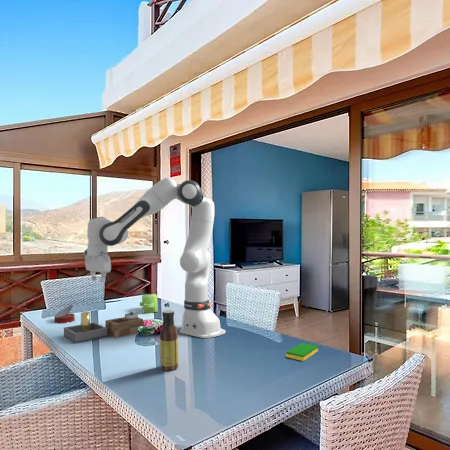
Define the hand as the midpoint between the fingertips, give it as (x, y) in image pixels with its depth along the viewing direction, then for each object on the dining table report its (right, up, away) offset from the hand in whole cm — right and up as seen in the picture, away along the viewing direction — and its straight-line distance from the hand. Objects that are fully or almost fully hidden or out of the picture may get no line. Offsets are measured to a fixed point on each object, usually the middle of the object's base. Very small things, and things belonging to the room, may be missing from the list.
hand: (98, 281), depth 169 cm
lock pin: (-4, -23, -6) cm, 24 cm away
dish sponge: (+89, -24, -29) cm, 97 cm away
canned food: (-26, -25, +23) cm, 43 cm away
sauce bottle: (+40, -24, -43) cm, 63 cm away
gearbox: (+14, -25, +46) cm, 55 cm away
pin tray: (-4, -24, -6) cm, 25 cm away
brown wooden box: (+12, -24, 0) cm, 27 cm away
